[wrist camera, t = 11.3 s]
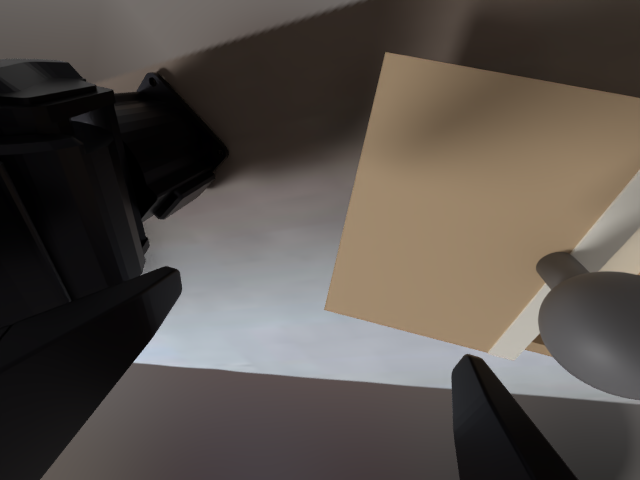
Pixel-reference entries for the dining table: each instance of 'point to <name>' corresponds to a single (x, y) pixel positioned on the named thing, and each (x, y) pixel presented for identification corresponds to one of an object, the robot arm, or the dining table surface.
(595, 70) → the dining table surface
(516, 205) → the lid
